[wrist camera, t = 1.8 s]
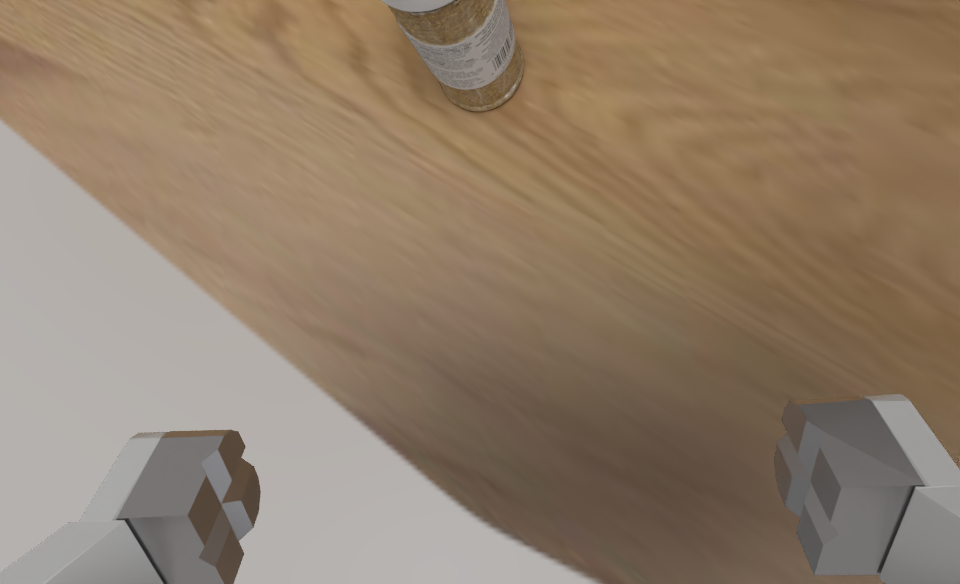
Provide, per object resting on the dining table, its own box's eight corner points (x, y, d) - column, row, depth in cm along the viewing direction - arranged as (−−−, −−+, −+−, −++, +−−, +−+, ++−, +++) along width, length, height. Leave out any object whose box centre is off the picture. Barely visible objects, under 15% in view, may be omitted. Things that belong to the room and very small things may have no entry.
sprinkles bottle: (470, 13, 35) (390, -175, 22) (542, 56, 35) (504, -112, 21) (422, 87, 36) (315, -55, 23) (493, 131, 35) (424, 12, 22)
